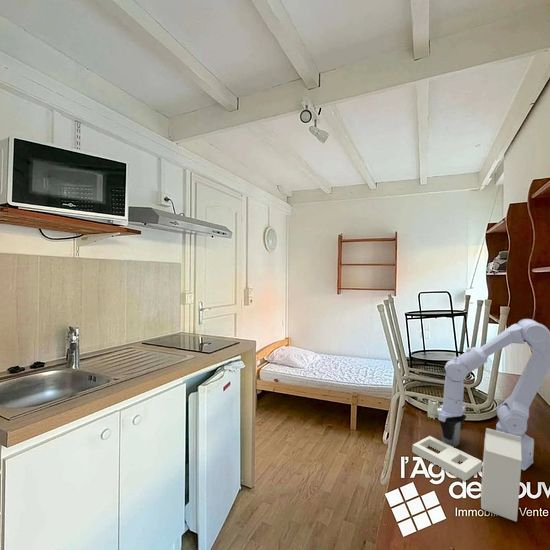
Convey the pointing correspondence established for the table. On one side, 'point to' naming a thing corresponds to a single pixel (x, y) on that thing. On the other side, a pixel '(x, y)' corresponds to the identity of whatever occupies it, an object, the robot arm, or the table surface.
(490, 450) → the milk carton
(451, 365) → the robot arm
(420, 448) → the socket plate
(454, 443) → the peg
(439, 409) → the valve
